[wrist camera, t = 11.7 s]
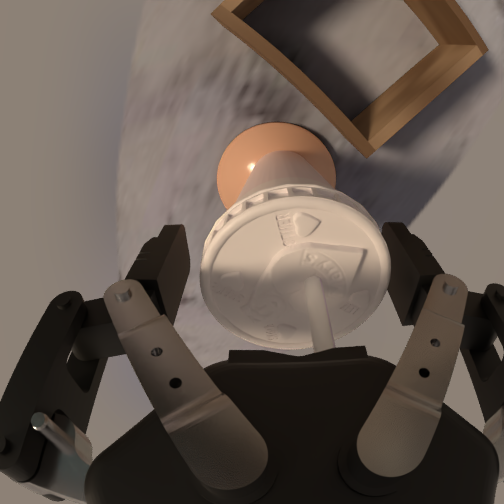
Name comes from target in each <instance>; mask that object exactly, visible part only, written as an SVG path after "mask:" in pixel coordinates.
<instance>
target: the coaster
mask: <svg viewBox="0 0 504 504" xmlns="http://www.w3.org/2000/svg"><path fill="white" fill-rule="evenodd" d="M279 150H286V151H291V152H294V153H297V154H299V155H300V156H302V157H303V158H304V159H305V160H306V161H307V162H308V163H309V164H310V165H311V166H312V167H313V168H314V169H315V170H316V171H317V172H318V173H319V174H320V175H321V176H322V177H323V178H324V179H325V180H326V181H327V182H328V183H329V184H330V185H331V186H332V187H333V188H334V189H335V185H336V172H335V166H334V163H333V160H332V158H331V155H330V153H329V152H328V150H327V149H326V147H325V146H324V144H323V143H322V142H321V141H320V140H319V139H318V138H317V137H316V136H315V135H314V134H312V133H311V132H309V131H308V130H306V129H304V128H302V127H300V126H297V125H294V124H291V123H286V122H267V123H262V124H258V125H255V126H253V127H250V128H249V129H247V130H245V131H243V132H242V133H240V134H239V135H238V136H237V137H236V138H234V139H233V140H232V142H231V143H230V144H229V145H228V147H227V148H226V150H225V151H224V153H223V156H222V158H221V160H220V163H219V167H218V173H217V185H218V191H219V194H220V197H221V200H222V202H223V204H224V205H225V207H226V209H227V210H228V209H229V208H230V207H231V206H232V205H233V204H235V202H236V200H237V198H238V196H239V195H240V193H241V191H242V189H243V187H244V185H245V183H246V181H247V179H248V177H249V175H250V173H251V172H252V170H253V168H254V166H255V164H256V163H257V162H258V160H260V159H261V158H262V157H263V156H265V155H266V154H268V153H271V152H274V151H279Z"/></svg>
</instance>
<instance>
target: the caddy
mask: <svg viewBox="0 0 504 504" xmlns="http://www.w3.org/2000/svg"><path fill="white" fill-rule="evenodd" d="M263 1H264V0H224V1H223V2H222V3H221V4H220V5H219V6H218V7H217V8H216V9H215V10H214V11H213V12H212V13H211V15H212V16H213V17H214V18H215V19H216V20H217V21H218V22H219V23H220V24H221V25H222V26H224V27H225V28H226V29H227V30H229V31H230V32H231V33H233V34H234V35H235V36H237V37H238V38H239V39H240V40H242V41H243V42H244V43H245V44H247V45H248V46H249V47H250V48H251V49H253V50H254V51H255V52H256V53H257V54H259V55H260V56H261V57H262V58H263V59H265V60H266V61H267V62H268V63H269V64H270V65H271V66H273V67H274V68H275V69H276V70H277V71H278V72H279V73H280V74H282V75H283V76H284V77H285V78H286V79H287V80H288V81H289V82H290V83H291V84H292V85H294V86H295V87H296V88H297V89H298V90H299V91H300V92H301V93H302V94H303V95H304V96H305V97H306V98H307V99H308V100H309V101H310V102H311V103H312V104H313V105H314V106H315V107H316V108H317V109H318V110H319V111H320V112H321V113H322V114H323V115H324V116H325V117H326V118H327V119H328V120H329V121H330V122H331V123H332V124H333V125H334V126H335V127H336V128H337V129H338V131H339V132H340V133H341V134H342V135H343V136H344V137H345V138H346V139H347V140H348V141H349V142H350V143H351V144H352V145H353V146H354V147H355V148H356V149H357V150H358V151H359V152H360V153H361V154H362V155H363V156H364V157H365V158H366V159H367V158H368V157H369V156H370V155H371V154H373V153H374V152H375V151H376V150H377V149H378V148H379V147H380V146H382V145H383V144H384V143H385V142H386V141H387V140H388V139H389V138H391V137H392V136H393V135H394V134H395V133H396V132H397V131H398V130H400V129H401V128H402V127H403V126H404V125H405V124H406V123H407V122H409V121H410V120H411V119H412V118H413V117H414V116H415V115H416V114H418V113H419V112H420V111H421V110H422V109H423V108H424V107H425V106H427V105H428V104H429V103H430V102H431V101H432V100H433V99H434V98H436V97H437V96H438V95H439V94H440V93H441V92H442V91H443V90H445V89H446V88H447V87H448V86H449V85H450V84H451V83H452V82H453V81H455V80H456V79H457V78H458V77H459V76H460V75H461V74H462V73H463V72H465V71H466V70H467V69H468V68H469V67H470V66H471V65H472V64H474V63H475V62H476V61H477V60H478V59H479V58H480V57H481V56H482V55H484V54H485V53H486V52H487V51H488V48H487V46H486V45H485V43H484V42H483V40H482V38H481V37H480V35H479V34H478V32H477V31H476V29H475V28H474V26H473V25H472V23H471V22H470V20H469V19H468V17H467V16H466V15H465V13H464V12H463V10H462V9H461V8H460V6H459V5H458V4H457V2H456V1H455V0H404V2H405V3H406V4H407V5H408V6H409V7H410V8H411V9H412V11H413V12H414V13H415V14H416V15H417V17H418V18H419V19H420V20H421V21H422V23H423V24H424V25H425V26H426V28H427V29H428V30H429V31H430V33H431V34H432V35H433V37H434V38H435V39H436V41H437V42H438V43H439V45H438V46H437V47H436V48H435V49H434V50H432V51H431V52H430V53H429V54H428V55H427V56H425V57H424V58H423V59H422V60H421V61H419V62H418V63H417V64H416V65H415V66H414V67H412V68H411V69H410V70H409V71H408V72H407V73H405V74H404V75H403V76H402V77H401V78H400V79H399V80H397V81H396V82H395V83H394V84H393V85H392V86H391V87H389V88H388V89H387V90H386V91H385V92H384V93H383V94H381V95H380V96H379V97H378V98H377V99H376V100H375V101H373V102H372V103H371V104H370V105H369V106H368V107H367V108H366V109H364V110H363V111H362V112H361V113H360V114H359V115H358V116H357V117H355V118H354V119H353V120H352V121H350V120H349V119H348V118H347V117H346V116H345V115H344V114H343V113H342V112H341V110H340V109H339V108H338V107H337V106H336V105H335V104H334V103H333V102H332V101H331V100H330V99H329V98H328V97H327V96H326V95H325V94H324V93H323V92H322V91H321V90H320V89H319V88H318V87H317V86H316V85H315V84H314V83H313V82H312V81H311V80H310V79H309V78H308V77H307V76H306V75H305V74H304V73H303V72H302V71H301V70H300V69H299V68H297V67H296V66H295V65H294V64H293V63H292V62H291V61H290V60H289V59H288V58H286V57H285V56H284V55H283V54H282V53H281V52H280V51H279V50H277V49H276V48H275V47H274V46H273V45H272V44H270V43H269V42H268V41H267V40H266V39H264V38H263V37H262V36H261V35H260V34H258V33H257V32H256V31H255V30H253V29H252V28H251V27H250V26H248V25H247V24H246V23H245V22H243V21H242V20H243V19H244V18H245V17H246V16H247V15H248V14H250V13H251V12H252V11H253V10H254V9H255V8H256V7H257V6H258V5H259V4H261V3H262V2H263Z"/></svg>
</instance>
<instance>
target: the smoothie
mask: <svg viewBox="0 0 504 504" xmlns="http://www.w3.org/2000/svg"><path fill="white" fill-rule="evenodd" d="M390 275H391V260H390V254H389V250H388V247H387V244H386V242H385V240H384V238H383V236H382V235H381V233H380V230H379V227H378V225H377V223H376V221H375V220H374V219H373V218H372V216H371V215H370V214H369V213H368V212H367V210H366V209H365V208H364V207H363V206H362V205H361V204H360V203H358V202H356V201H355V200H353V199H352V198H350V197H349V196H347V195H345V194H344V193H342V192H340V191H337V190H335V189H334V188H333V187H332V186H331V185H330V184H329V183H328V182H327V181H326V180H325V179H324V178H323V177H322V176H321V175H320V174H319V173H318V172H317V171H316V170H315V169H314V168H313V167H312V166H311V165H310V164H309V163H308V162H307V161H306V160H305V159H304V158H303V157H302V156H300V155H299V154H297V153H294V152H291V151H286V150H279V151H274V152H271V153H268V154H266V155H265V156H263V157H262V158H261V159H260V160H258V162H257V163H256V164H255V166H254V168H253V170H252V172H251V173H250V175H249V177H248V179H247V181H246V183H245V185H244V187H243V189H242V191H241V193H240V195H239V196H238V198H237V200H236V202H235V204H233V205H232V206H231V207H230V208H229V209H228V210H227V211H226V212H225V213H224V214H223V215H222V216H221V217H220V218H219V219H218V220H217V221H216V223H215V224H214V226H213V228H212V230H211V232H210V233H209V235H208V237H207V239H206V241H205V245H204V250H203V255H202V261H201V268H200V287H201V292H202V296H203V299H204V301H205V303H206V305H207V307H208V309H209V311H210V312H211V313H212V315H213V316H214V317H215V319H216V320H217V321H218V322H219V323H220V324H221V325H222V326H223V327H225V328H226V329H227V330H229V331H230V332H231V333H233V334H235V335H236V336H238V337H240V338H242V339H244V340H246V341H248V342H251V343H254V344H257V345H261V346H264V347H269V348H276V349H303V348H311V347H313V349H314V353H316V352H320V351H324V350H327V349H331V348H336V347H335V342H334V340H337V339H339V338H341V337H343V336H345V335H347V334H348V333H350V332H352V331H353V330H355V329H356V328H358V327H359V326H360V325H361V324H363V323H364V322H365V321H366V320H367V319H368V318H369V317H370V316H371V315H372V314H373V312H374V311H375V310H376V309H377V307H378V306H379V304H380V303H381V301H382V299H383V297H384V295H385V293H386V291H387V288H388V285H389V281H390Z"/></svg>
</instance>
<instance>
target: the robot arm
mask: <svg viewBox="0 0 504 504" xmlns="http://www.w3.org/2000/svg"><path fill="white" fill-rule="evenodd" d="M381 235H382V236H383V238H384V240H385V242H386V244H387V247H388V250H389V254H390V260H391V275H390V281H389V285H388V288H387V290H388V292H389V295H390V297H391V299H392V302H393V304H394V307H395V309H396V311H397V314H398V316H399V318H400V321H401V324H402V326H407V325H414V329H413V332H412V334H411V336H410V339H409V341H408V343H407V345H406V347H405V350H404V351H403V354H402V356H401V358H400V360H399V362H398V364H397V366H395V365H394V364H392V363H390V362H388V361H386V360H383V359H380V358H377V357H373V356H368V355H367V351H366V348H365V346H355V347H340V348H331V349H327V350H324V351H320V352H316V353H312V354H309V355H305V356H292V355H286V354H281V353H275V352H270V351H265V350H229V358H228V360H226V361H221V362H218V363H215V364H212V365H210V366H208V367H206V368H204V369H203V368H202V367H201V365H200V364H199V362H198V361H197V360H196V358H195V357H194V356H193V354H192V353H191V351H190V350H189V349H188V347H187V346H186V344H185V343H184V342H183V340H182V339H181V337H180V336H179V334H178V333H177V332H176V330H175V329H174V327H173V325H174V322H175V318H176V315H177V311H178V308H179V305H180V301H181V298H182V295H183V291H184V288H185V285H186V282H187V278H188V275H189V272H190V255H189V250H188V244H187V238H186V232H185V228H184V225H182V224H180V225H164V227H163V229H162V230H161V232H160V234H159V236H158V237H153V238H151V239H150V240H149V241H148V242H146V243H145V244H144V245H143V247H142V249H141V251H140V254H138V256H137V258H136V260H135V261H134V263H133V265H132V267H131V269H130V271H129V272H128V274H127V276H126V278H125V280H121V281H118V282H116V283H114V284H112V285H111V286H110V287H109V288H108V289H107V290H106V291H105V293H104V296H103V298H99V299H94V300H89V301H85V302H84V300H83V298H82V296H81V294H80V293H79V292H76V291H67V292H64V293H62V294H59V295H58V296H56V297H55V298H54V299H53V300H52V301H51V302H50V304H49V306H48V307H47V309H46V311H45V313H44V314H43V316H42V318H41V320H40V322H39V323H38V325H37V327H36V329H35V330H34V332H33V334H32V336H31V338H30V340H29V342H28V344H27V346H26V347H25V349H24V351H23V354H22V355H21V357H20V359H19V362H18V363H17V366H16V368H15V370H14V372H13V374H12V376H11V378H10V381H9V383H8V385H7V387H6V390H5V392H4V394H3V396H2V399H1V401H0V471H1V472H2V473H4V474H5V475H7V476H8V477H10V479H12V480H13V481H15V482H16V483H18V484H20V485H22V486H23V487H25V488H27V489H29V490H31V491H33V492H35V493H37V494H40V495H42V496H44V497H46V498H48V499H50V500H53V501H63V500H65V499H67V500H70V501H73V502H76V503H79V504H494V498H495V492H496V487H497V484H498V483H500V482H502V481H503V482H504V356H503V359H502V361H501V360H500V358H499V355H498V353H497V351H496V349H495V347H494V345H493V343H494V341H495V339H496V338H497V336H498V338H499V340H500V342H501V344H502V346H503V349H504V286H502V285H500V284H494V283H493V284H489V285H488V286H487V288H486V290H485V292H484V294H480V293H475V292H469V291H468V289H467V286H466V285H465V283H464V282H463V281H462V280H460V279H459V278H457V277H456V276H453V275H450V274H445V273H444V271H443V270H442V268H441V266H440V265H439V263H438V262H437V261H436V259H435V258H434V256H432V253H431V252H430V250H428V248H427V246H426V245H425V243H424V242H423V241H422V240H421V239H419V238H418V237H417V236H415V235H414V234H411V233H410V232H409V230H408V229H407V228H406V226H405V225H404V224H403V223H402V222H385V223H384V225H383V228H382V233H381ZM459 348H460V351H461V353H462V356H463V358H464V361H465V364H466V366H467V369H468V372H469V374H470V377H471V380H472V383H473V386H474V389H475V391H476V394H477V398H478V400H479V404H480V407H481V410H482V413H483V416H484V420H485V426H484V429H483V433H482V432H480V431H479V430H478V429H476V428H475V427H474V426H473V425H471V424H470V423H469V422H468V421H466V420H465V419H464V418H462V417H461V416H460V415H459V414H457V413H456V412H455V411H453V410H452V409H451V408H450V407H448V406H447V405H446V404H445V403H443V400H444V397H445V394H446V392H447V388H448V386H449V382H450V379H451V376H452V373H453V370H454V366H455V363H456V359H457V356H458V352H459ZM70 351H72V352H71V355H70V357H69V360H68V362H67V358H68V355H69V353H70ZM123 354H127V357H128V359H129V361H130V363H131V365H132V367H133V369H134V371H135V373H136V375H137V377H138V379H139V381H140V383H141V385H142V387H143V389H144V391H145V393H146V395H147V397H148V398H149V400H150V402H151V404H152V406H153V408H154V410H153V411H152V412H150V413H149V414H148V415H147V416H146V417H144V418H143V419H142V420H141V421H140V422H138V423H137V424H136V425H135V426H134V427H132V428H131V429H130V430H129V431H128V432H126V433H125V434H124V435H123V436H121V437H120V438H119V439H118V440H116V441H115V442H114V443H113V444H112V445H110V446H109V447H108V448H107V449H105V450H104V451H103V452H102V453H100V454H99V455H98V456H97V457H96V458H95V459H94V461H92V444H91V442H90V440H89V438H88V437H87V436H86V435H85V434H86V430H87V426H88V423H89V419H90V415H91V412H92V408H93V405H94V401H95V398H96V395H97V391H98V388H99V385H100V382H101V378H102V375H103V372H104V369H105V366H106V363H107V360H108V357H112V356H118V355H123Z"/></svg>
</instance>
